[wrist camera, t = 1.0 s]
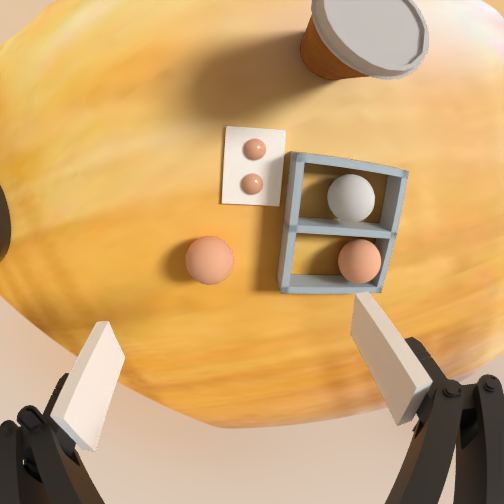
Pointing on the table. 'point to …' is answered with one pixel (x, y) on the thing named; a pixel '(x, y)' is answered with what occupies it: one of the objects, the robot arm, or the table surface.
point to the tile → (253, 166)
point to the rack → (338, 227)
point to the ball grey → (351, 198)
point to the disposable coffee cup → (364, 39)
